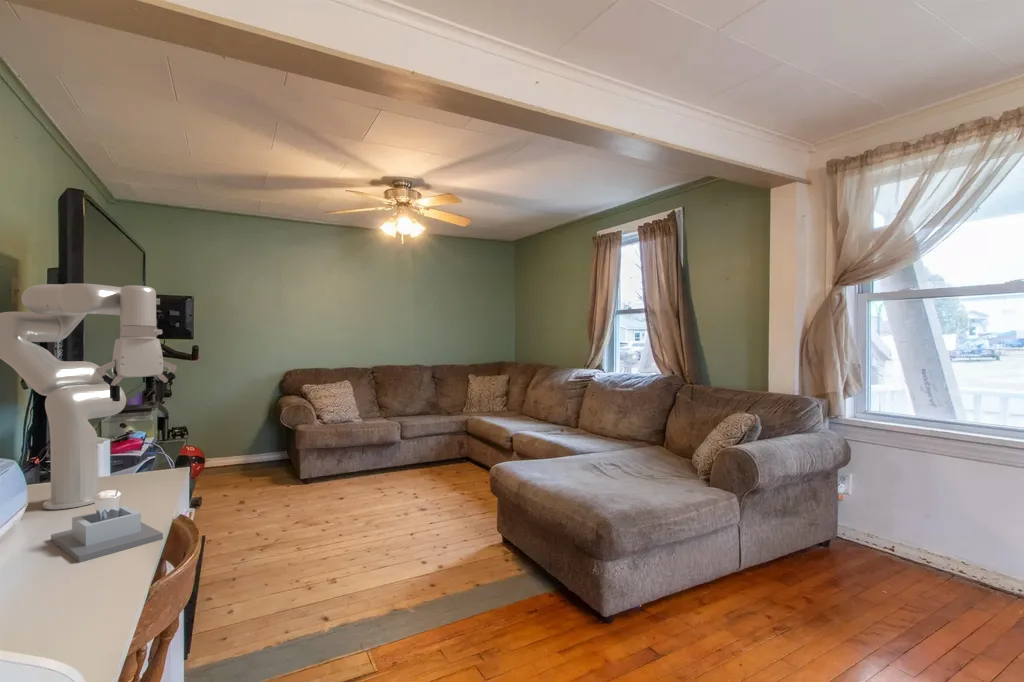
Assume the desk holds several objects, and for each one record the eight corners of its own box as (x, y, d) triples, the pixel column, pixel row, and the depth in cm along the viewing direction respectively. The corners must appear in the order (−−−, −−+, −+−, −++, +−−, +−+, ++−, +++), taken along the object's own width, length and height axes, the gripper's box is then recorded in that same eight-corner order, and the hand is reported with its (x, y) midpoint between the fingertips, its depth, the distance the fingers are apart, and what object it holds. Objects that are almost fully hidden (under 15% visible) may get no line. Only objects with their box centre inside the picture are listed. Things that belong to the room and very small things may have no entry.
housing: (51, 540, 107) (50, 516, 107) (129, 520, 119) (128, 499, 119) (79, 562, 96) (79, 535, 96) (162, 538, 107) (162, 514, 107)
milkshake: (107, 537, 105) (107, 490, 105) (89, 535, 106) (88, 489, 106) (129, 530, 109) (128, 484, 109) (111, 528, 111) (110, 483, 111)
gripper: (170, 334, 137) (170, 395, 137) (91, 333, 123) (91, 401, 123) (182, 333, 133) (182, 396, 133) (101, 332, 119) (102, 403, 119)
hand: (138, 399), depth 128 cm, fingers open, 9 cm apart
